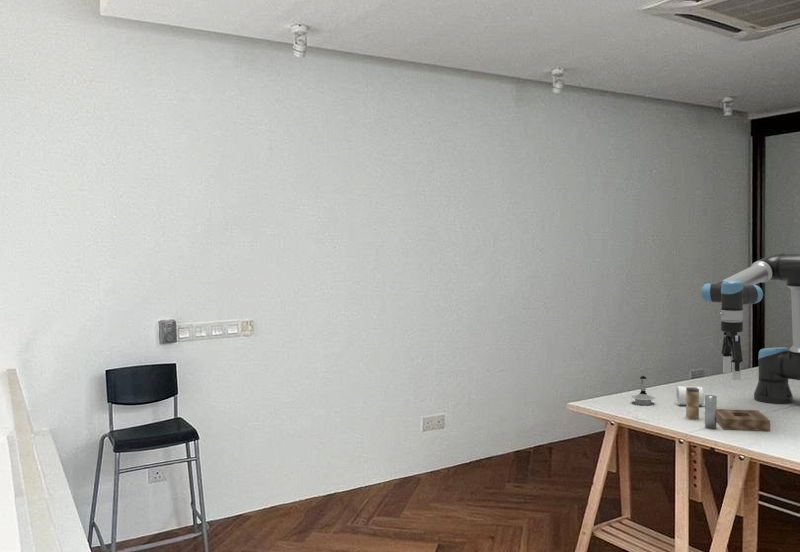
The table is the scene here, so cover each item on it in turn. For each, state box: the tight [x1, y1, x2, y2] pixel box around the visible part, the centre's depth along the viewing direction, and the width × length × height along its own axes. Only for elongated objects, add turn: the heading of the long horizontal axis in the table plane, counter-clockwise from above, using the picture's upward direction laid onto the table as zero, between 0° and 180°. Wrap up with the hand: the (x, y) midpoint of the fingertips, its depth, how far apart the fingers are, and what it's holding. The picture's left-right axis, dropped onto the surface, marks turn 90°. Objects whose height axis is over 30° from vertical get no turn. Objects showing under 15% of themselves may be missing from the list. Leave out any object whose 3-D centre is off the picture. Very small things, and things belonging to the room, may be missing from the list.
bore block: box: [716, 408, 771, 432], centre depth 266 cm, size 16×16×4 cm
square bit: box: [685, 386, 700, 420], centre depth 278 cm, size 4×4×12 cm
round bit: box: [704, 394, 718, 430], centre depth 263 cm, size 4×4×12 cm
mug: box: [675, 385, 705, 407], centre depth 302 cm, size 12×10×8 cm
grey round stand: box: [630, 375, 656, 406], centre depth 305 cm, size 12×10×10 cm
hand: (731, 376), depth 268 cm, fingers open, 13 cm apart
